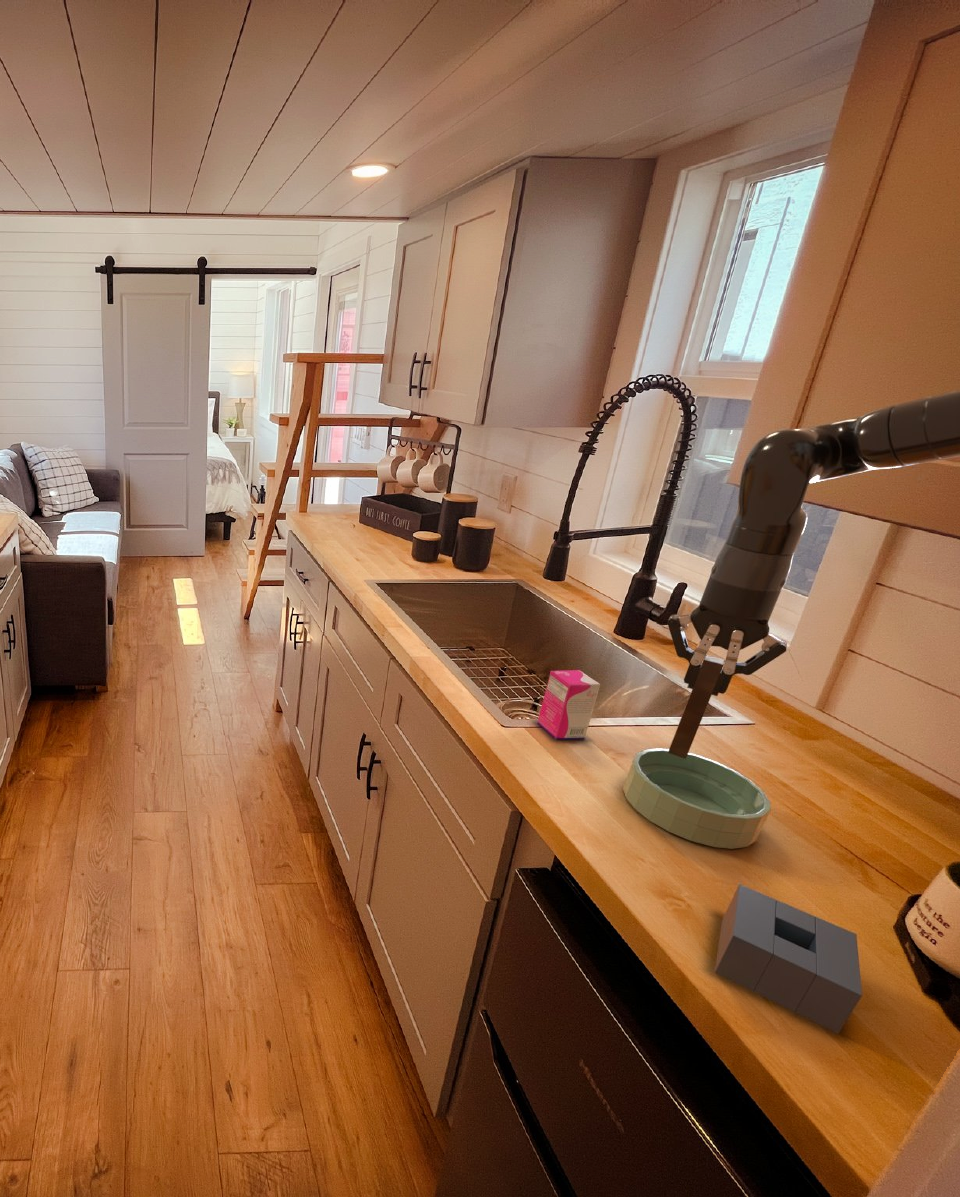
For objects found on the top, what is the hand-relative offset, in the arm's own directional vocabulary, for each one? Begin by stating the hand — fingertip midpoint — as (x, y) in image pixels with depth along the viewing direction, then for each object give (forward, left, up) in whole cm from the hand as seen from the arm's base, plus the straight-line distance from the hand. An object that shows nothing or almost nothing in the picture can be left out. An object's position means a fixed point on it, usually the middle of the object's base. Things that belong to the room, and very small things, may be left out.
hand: (702, 689), depth 94 cm
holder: (-15, +27, -20) cm, 37 cm away
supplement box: (+16, -11, -20) cm, 29 cm away
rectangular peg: (0, 0, -11) cm, 11 cm away
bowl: (-4, 0, -20) cm, 21 cm away
